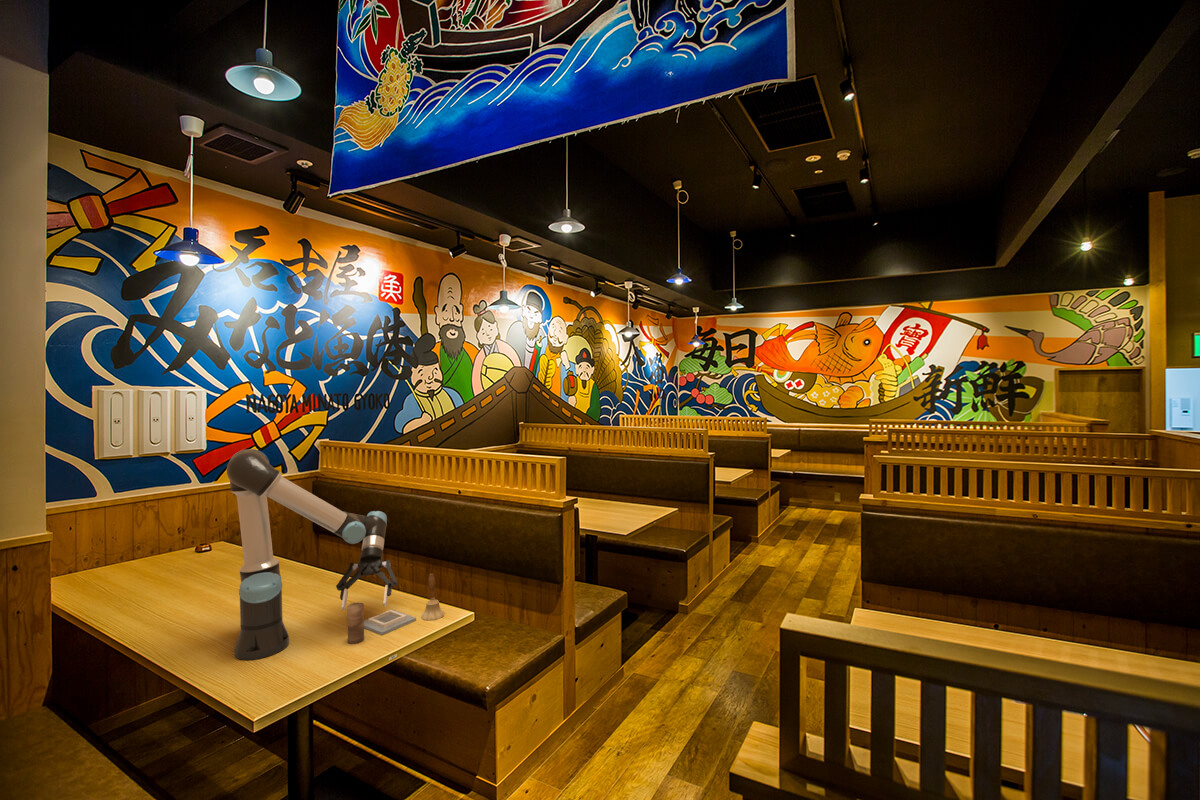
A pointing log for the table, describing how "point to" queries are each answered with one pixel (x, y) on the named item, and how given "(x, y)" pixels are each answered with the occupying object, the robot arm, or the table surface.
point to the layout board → (388, 621)
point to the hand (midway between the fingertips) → (364, 606)
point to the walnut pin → (355, 623)
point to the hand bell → (432, 603)
